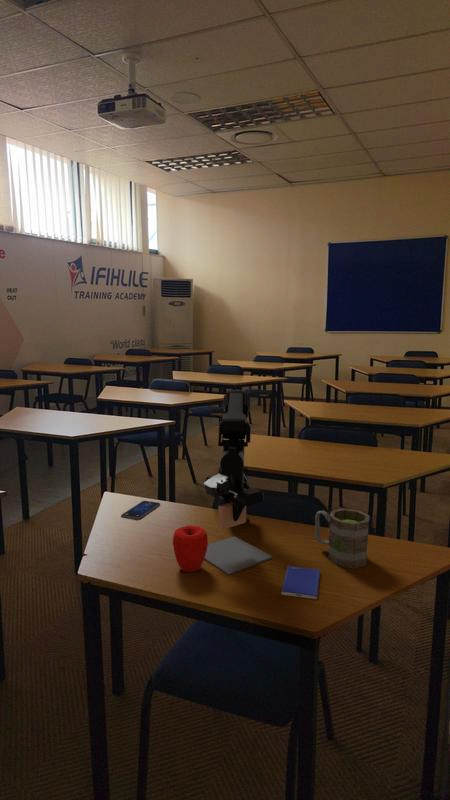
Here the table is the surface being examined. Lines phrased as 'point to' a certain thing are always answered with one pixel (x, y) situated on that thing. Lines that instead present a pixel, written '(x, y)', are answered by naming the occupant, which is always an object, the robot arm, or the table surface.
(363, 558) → the mug
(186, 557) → the apple
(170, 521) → the table surface
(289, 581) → the hard drive
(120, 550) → the table surface
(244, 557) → the mat
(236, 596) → the table surface
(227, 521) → the tile
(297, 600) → the table surface
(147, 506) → the smartphone
